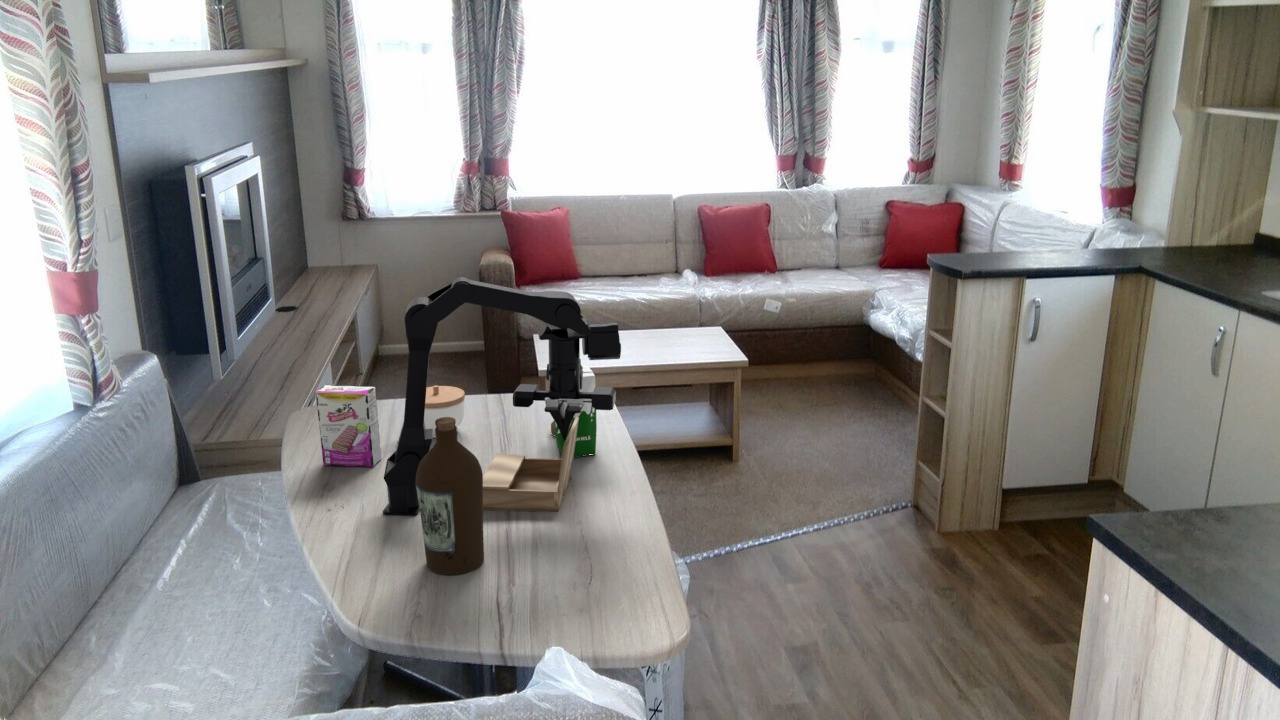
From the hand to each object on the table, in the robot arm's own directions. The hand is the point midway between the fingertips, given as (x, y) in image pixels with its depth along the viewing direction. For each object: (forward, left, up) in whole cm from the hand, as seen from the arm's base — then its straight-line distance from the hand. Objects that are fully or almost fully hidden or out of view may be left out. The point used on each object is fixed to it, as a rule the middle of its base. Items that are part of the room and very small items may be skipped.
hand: (565, 439), depth 180 cm
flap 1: (0, +13, -7) cm, 14 cm away
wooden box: (0, +8, -11) cm, 14 cm away
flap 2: (0, 0, -3) cm, 3 cm away
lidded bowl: (+32, +34, -11) cm, 48 cm away
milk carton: (+22, +1, -11) cm, 25 cm away
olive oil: (-28, +14, -11) cm, 34 cm away
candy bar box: (+13, +47, -11) cm, 51 cm away
